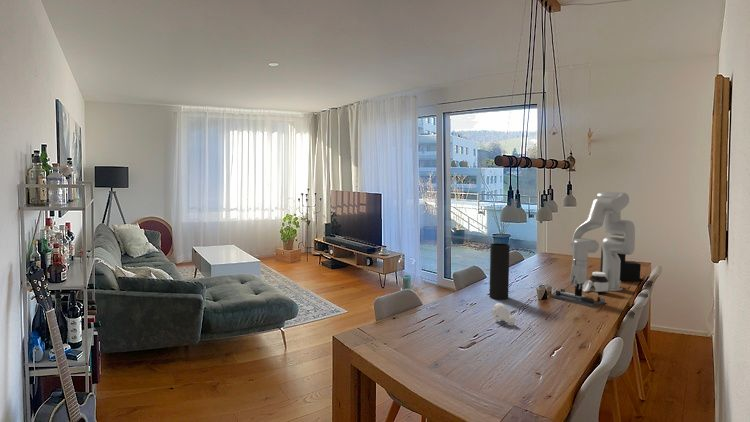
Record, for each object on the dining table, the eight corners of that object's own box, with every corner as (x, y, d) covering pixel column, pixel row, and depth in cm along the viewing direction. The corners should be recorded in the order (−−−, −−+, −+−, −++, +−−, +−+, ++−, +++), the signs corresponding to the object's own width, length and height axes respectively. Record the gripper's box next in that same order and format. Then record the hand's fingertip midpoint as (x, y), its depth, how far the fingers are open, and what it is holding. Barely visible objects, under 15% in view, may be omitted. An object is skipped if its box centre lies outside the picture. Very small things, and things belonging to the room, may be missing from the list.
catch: (588, 298, 249) (588, 291, 248) (597, 300, 245) (598, 292, 244) (584, 299, 246) (584, 292, 245) (593, 301, 242) (593, 294, 241)
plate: (563, 293, 265) (563, 287, 265) (605, 302, 246) (605, 296, 246) (550, 297, 256) (550, 291, 256) (592, 307, 237) (592, 300, 237)
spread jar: (610, 293, 264) (611, 274, 263) (595, 295, 260) (596, 275, 259) (593, 289, 275) (594, 270, 274) (579, 290, 271) (579, 271, 270)
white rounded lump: (500, 301, 217) (520, 309, 207) (498, 317, 219) (518, 327, 209) (491, 302, 214) (510, 311, 204) (489, 320, 215) (509, 329, 205)
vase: (508, 300, 250) (510, 246, 247) (489, 299, 252) (491, 245, 249) (507, 295, 260) (508, 243, 258) (489, 294, 262) (490, 243, 260)
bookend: (636, 278, 305) (638, 243, 303) (643, 281, 294) (645, 245, 292) (599, 276, 308) (600, 242, 306) (605, 280, 298) (606, 245, 296)
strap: (561, 292, 260) (561, 290, 260) (586, 297, 249) (586, 295, 249) (557, 293, 258) (557, 291, 258) (582, 298, 247) (582, 296, 247)
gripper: (580, 260, 256) (578, 292, 257) (566, 263, 247) (564, 296, 248) (593, 262, 250) (591, 295, 252) (579, 265, 241) (578, 299, 242)
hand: (578, 295), depth 250 cm, fingers closed
